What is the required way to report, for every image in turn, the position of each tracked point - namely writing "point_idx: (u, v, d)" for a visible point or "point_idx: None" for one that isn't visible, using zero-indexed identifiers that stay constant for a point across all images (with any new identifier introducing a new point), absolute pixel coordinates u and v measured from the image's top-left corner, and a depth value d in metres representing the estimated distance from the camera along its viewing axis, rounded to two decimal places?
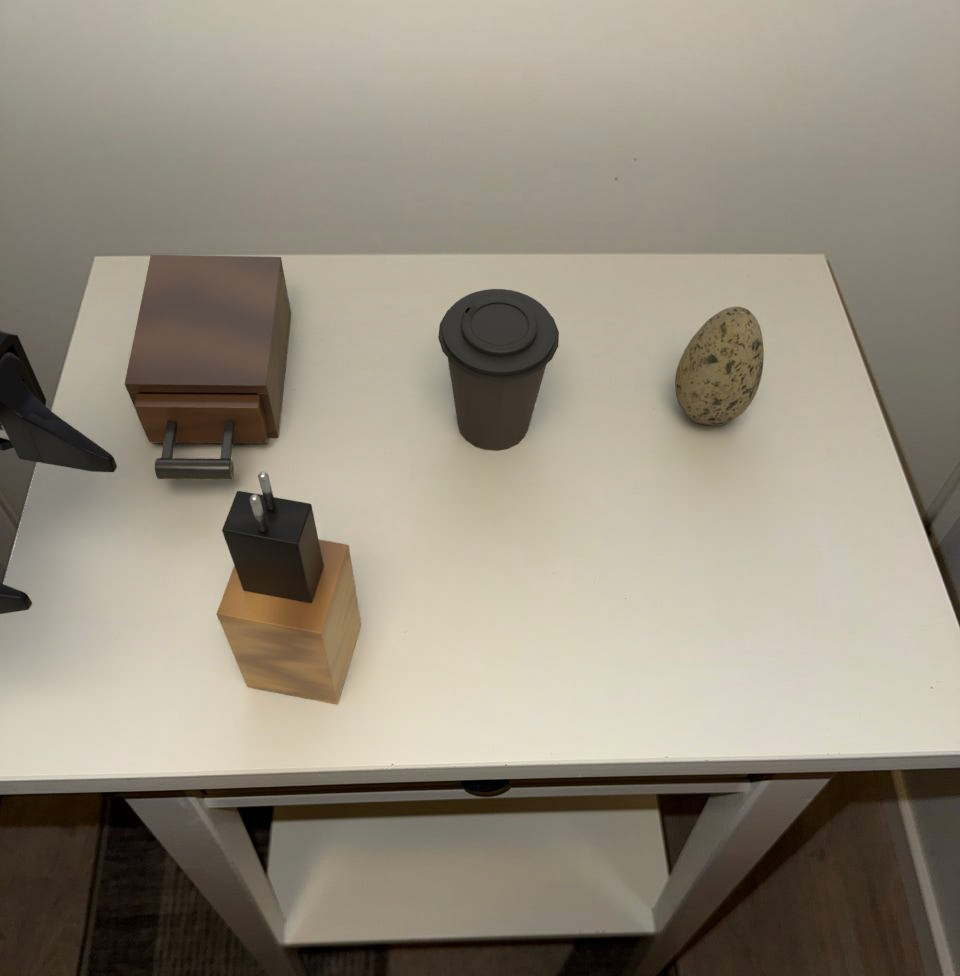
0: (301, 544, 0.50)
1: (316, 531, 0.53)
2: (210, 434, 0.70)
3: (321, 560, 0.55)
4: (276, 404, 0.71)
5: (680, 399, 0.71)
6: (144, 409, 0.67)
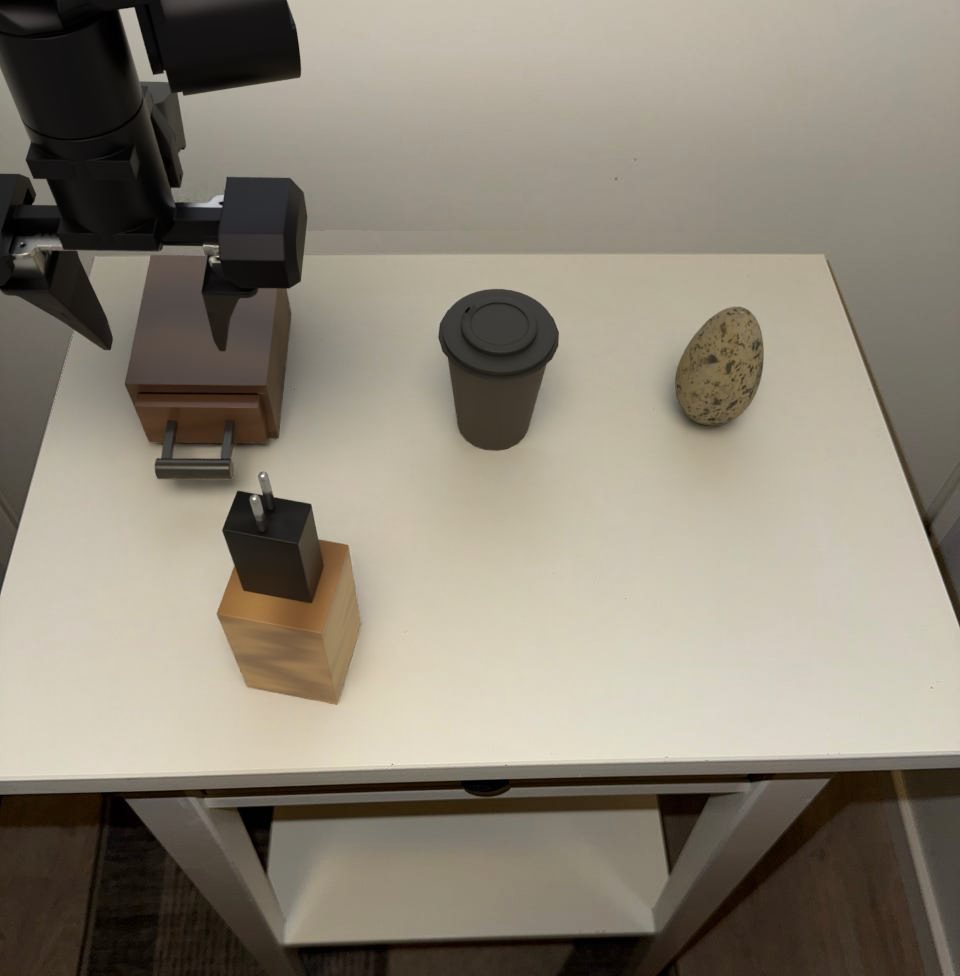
0: (301, 544, 0.50)
1: (316, 531, 0.53)
2: (210, 434, 0.70)
3: (321, 560, 0.55)
4: (276, 404, 0.71)
5: (680, 399, 0.71)
6: (144, 409, 0.67)
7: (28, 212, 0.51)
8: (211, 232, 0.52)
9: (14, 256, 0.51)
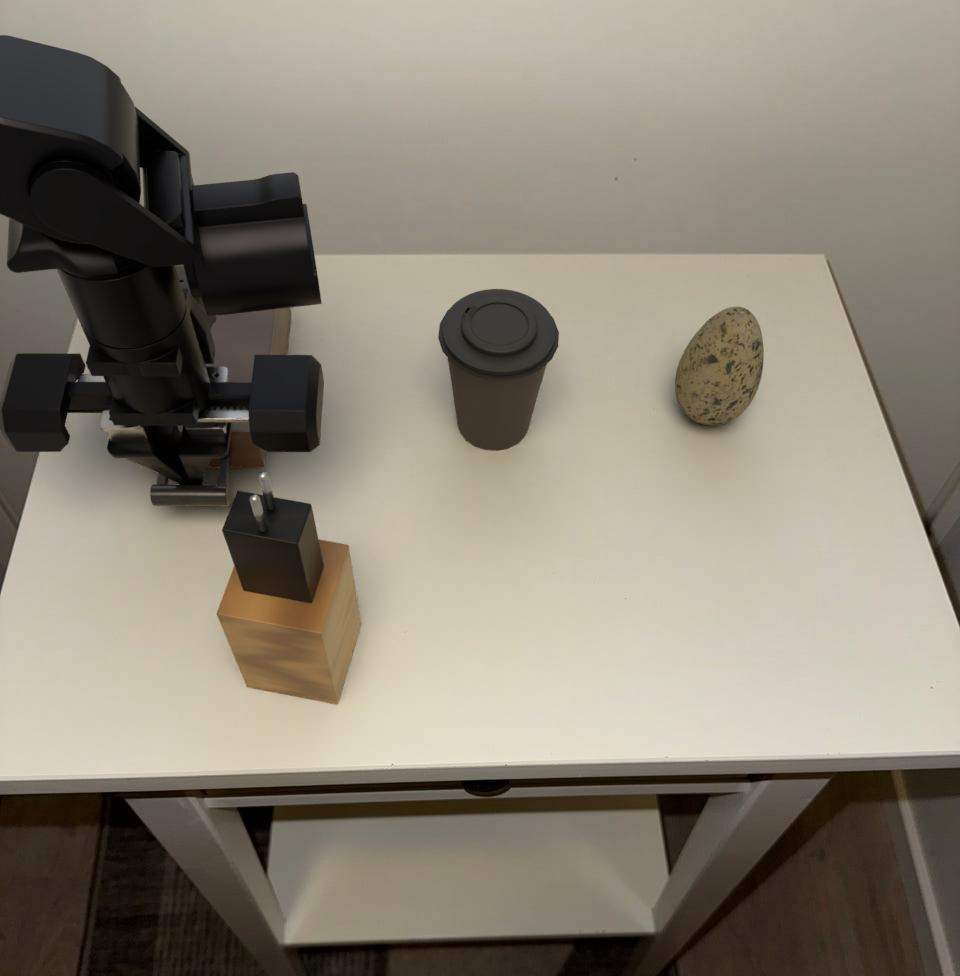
0: (301, 544, 0.50)
1: (316, 531, 0.53)
2: None
3: (321, 560, 0.55)
4: None
5: (680, 399, 0.71)
6: None
7: (81, 389, 0.59)
8: (241, 404, 0.60)
9: (125, 429, 0.58)
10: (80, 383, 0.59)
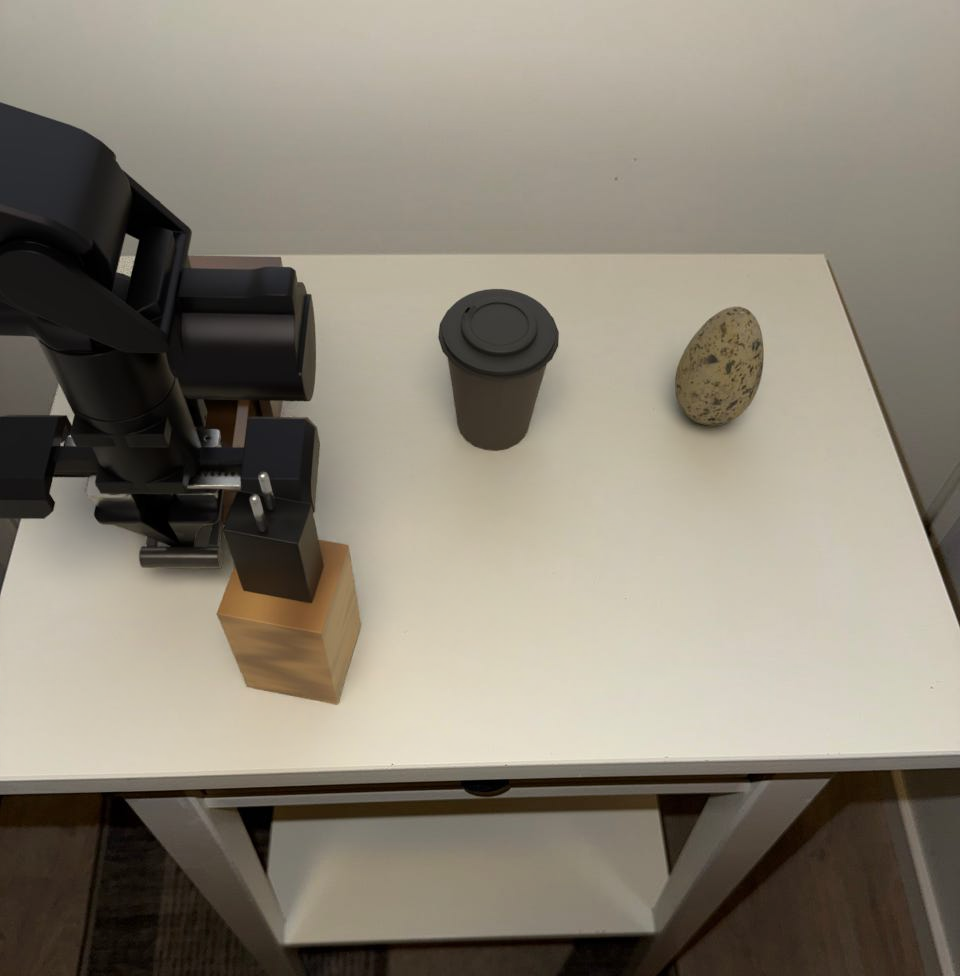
0: (301, 544, 0.50)
1: (316, 531, 0.53)
2: None
3: (321, 560, 0.55)
4: (276, 404, 0.71)
5: (680, 399, 0.71)
6: None
7: (67, 454, 0.56)
8: (233, 469, 0.57)
9: (112, 496, 0.56)
10: (66, 448, 0.57)
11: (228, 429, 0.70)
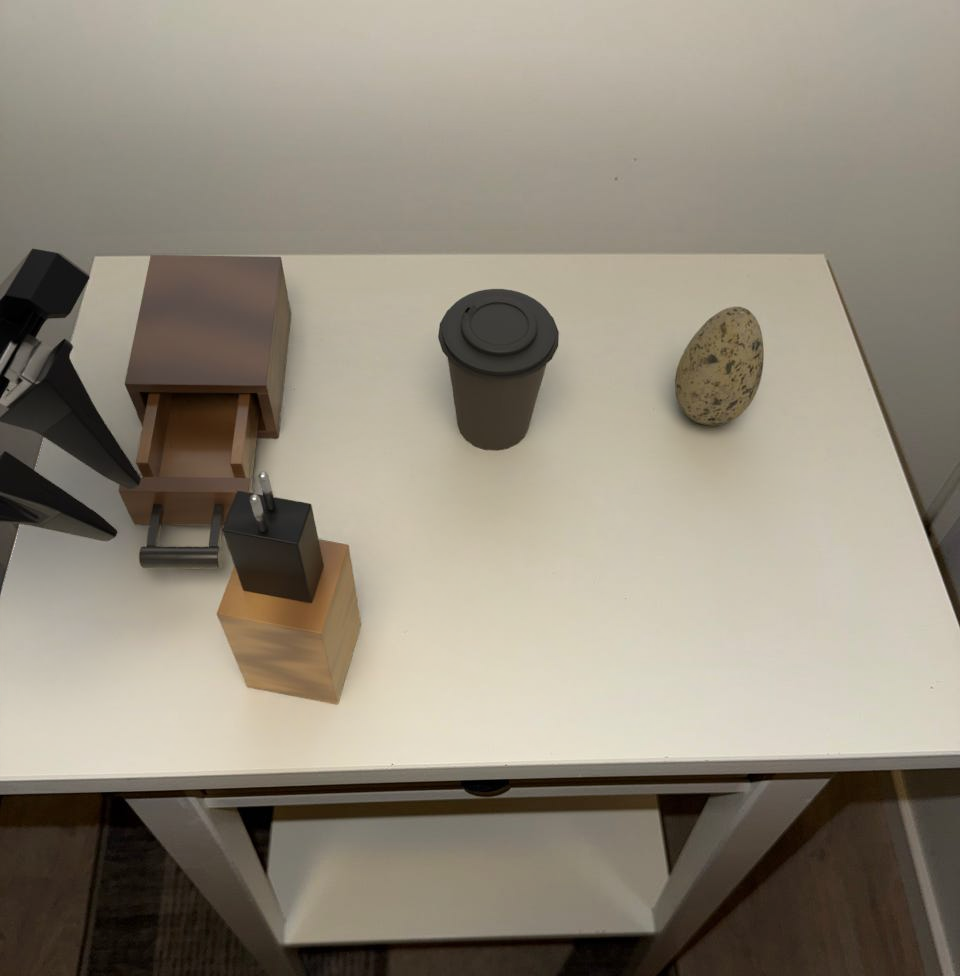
0: (301, 544, 0.50)
1: (316, 531, 0.53)
2: (198, 517, 0.66)
3: (321, 560, 0.55)
4: (276, 404, 0.71)
5: (680, 399, 0.71)
6: (128, 494, 0.64)
7: None
8: (10, 339, 0.49)
9: None
10: None
11: (228, 429, 0.70)
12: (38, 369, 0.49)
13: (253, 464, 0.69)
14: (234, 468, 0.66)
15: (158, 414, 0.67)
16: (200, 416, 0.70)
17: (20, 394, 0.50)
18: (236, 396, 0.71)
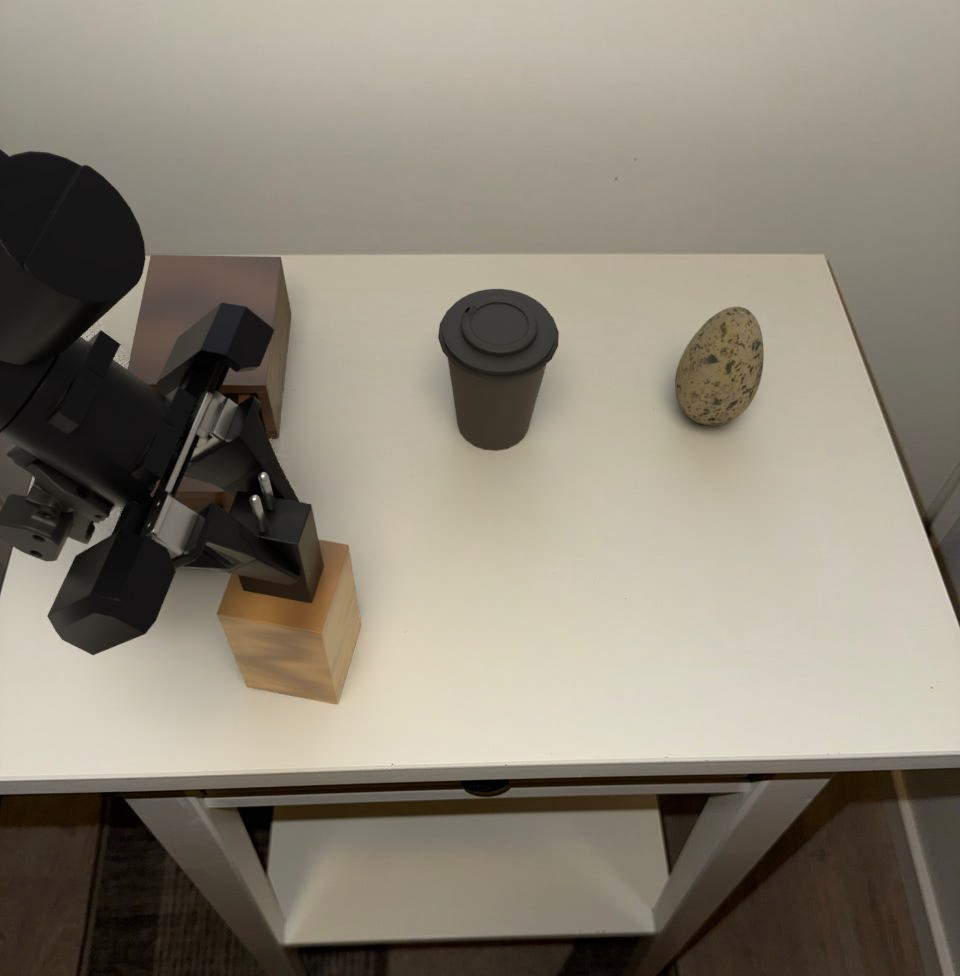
0: (301, 544, 0.50)
1: (316, 531, 0.53)
2: None
3: (321, 560, 0.55)
4: (276, 404, 0.71)
5: (680, 399, 0.71)
6: None
7: None
8: (200, 391, 0.50)
9: (165, 506, 0.45)
10: None
11: None
12: (227, 426, 0.49)
13: None
14: None
15: None
16: None
17: (206, 450, 0.50)
18: (236, 396, 0.71)
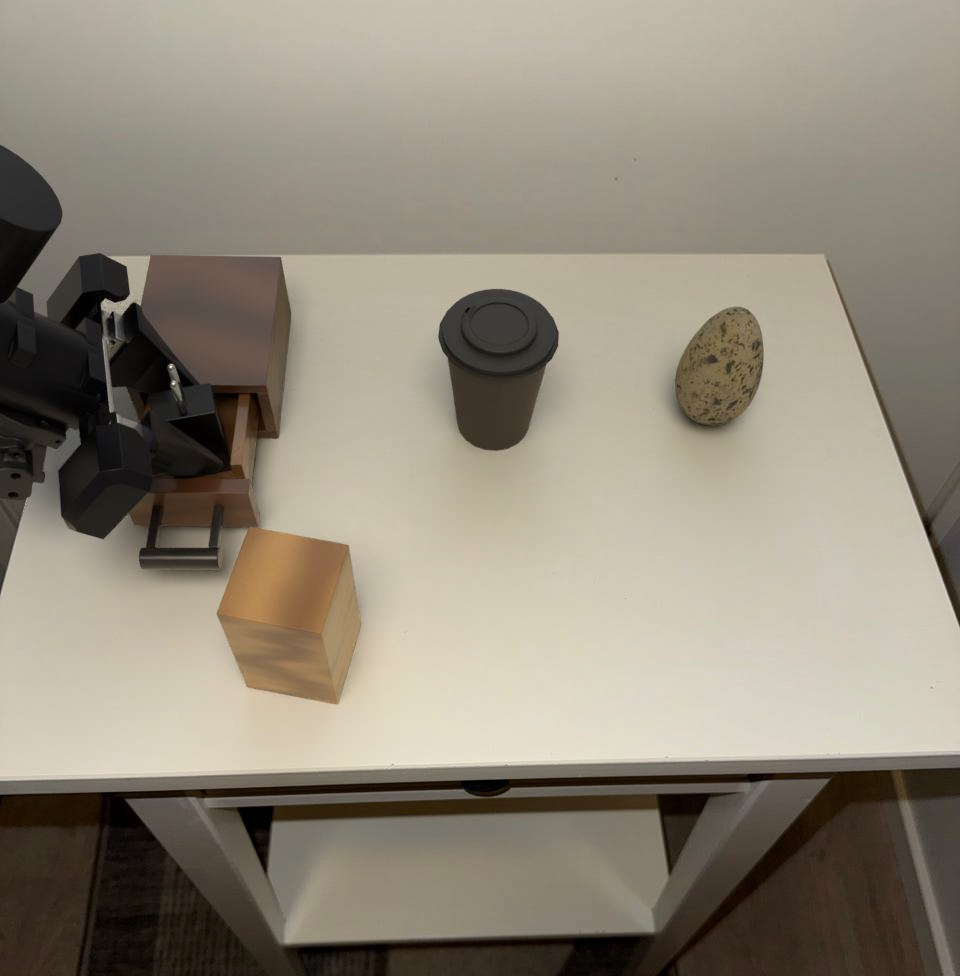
0: (216, 413, 0.64)
1: None
2: (198, 518, 0.66)
3: None
4: (276, 404, 0.71)
5: (680, 399, 0.71)
6: None
7: None
8: None
9: (119, 420, 0.57)
10: None
11: (228, 430, 0.70)
12: (122, 331, 0.62)
13: (253, 465, 0.69)
14: (234, 469, 0.66)
15: None
16: None
17: (112, 356, 0.63)
18: (236, 397, 0.71)
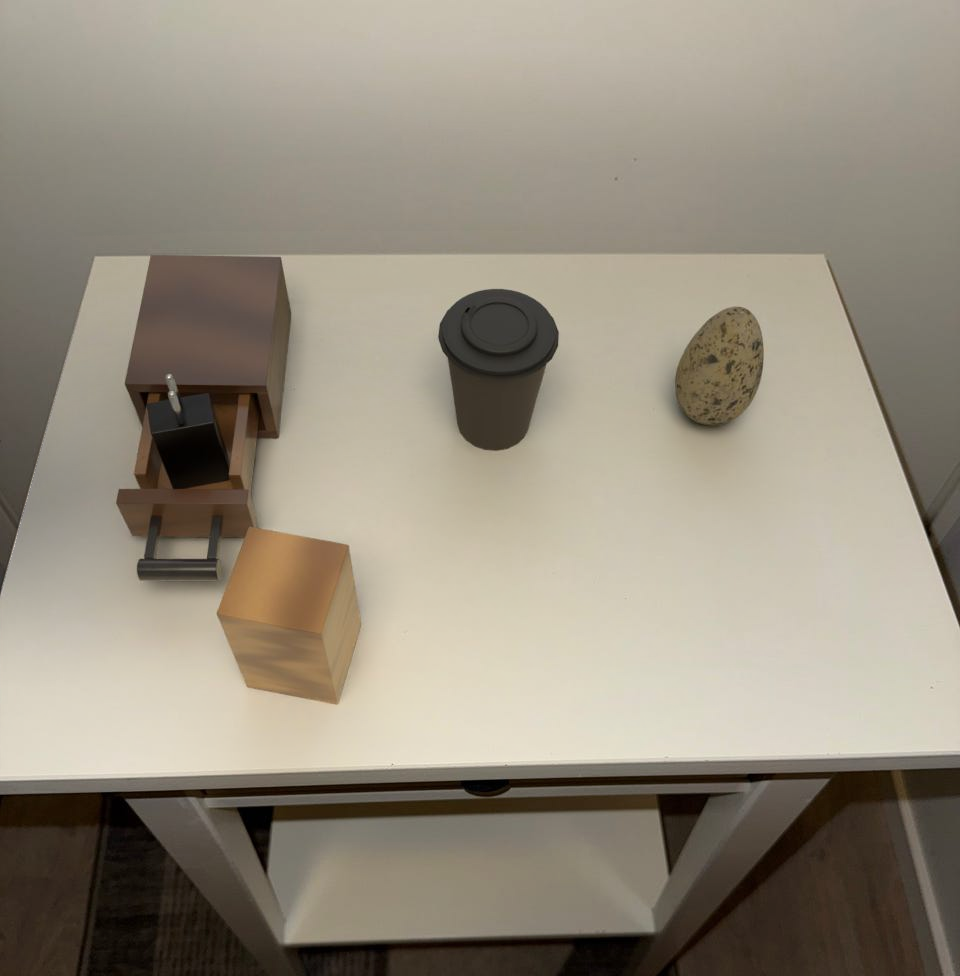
0: (215, 424, 0.63)
1: (216, 418, 0.66)
2: (197, 528, 0.66)
3: None
4: (276, 404, 0.71)
5: (680, 399, 0.71)
6: (126, 505, 0.64)
7: None
8: None
9: None
10: None
11: (227, 440, 0.69)
12: None
13: None
14: (232, 480, 0.65)
15: None
16: None
17: None
18: (235, 406, 0.71)
